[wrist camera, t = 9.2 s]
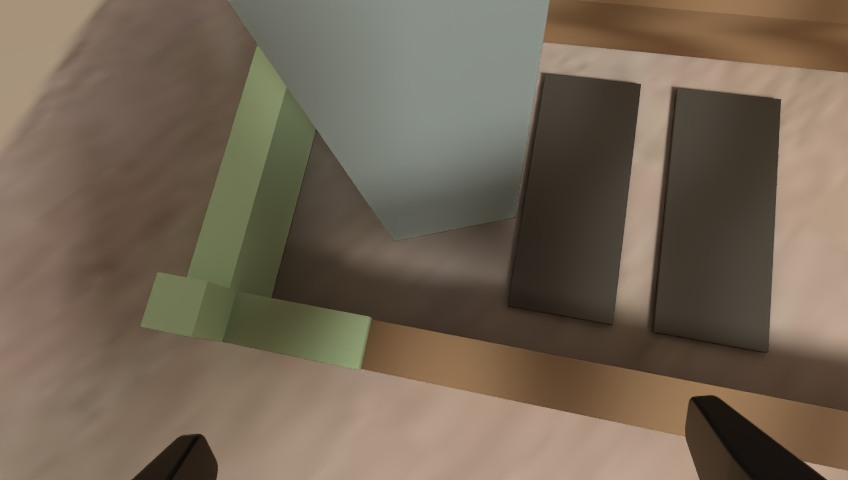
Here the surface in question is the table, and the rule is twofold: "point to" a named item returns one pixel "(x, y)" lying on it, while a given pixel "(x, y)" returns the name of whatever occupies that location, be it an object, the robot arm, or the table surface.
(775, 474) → the robot arm
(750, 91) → the table surface
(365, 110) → the blue-grey block
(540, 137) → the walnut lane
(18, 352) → the table surface
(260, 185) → the green end wall
